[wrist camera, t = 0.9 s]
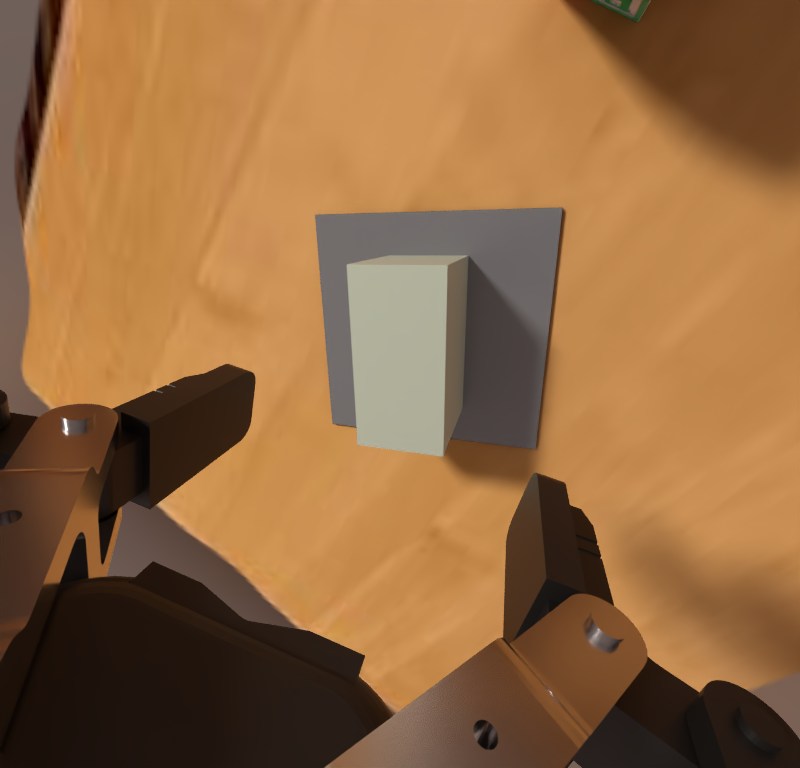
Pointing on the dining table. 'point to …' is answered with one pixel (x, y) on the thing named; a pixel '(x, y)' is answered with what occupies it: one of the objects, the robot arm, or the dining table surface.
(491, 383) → the gray tile
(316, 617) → the dining table surface
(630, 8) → the stack of blocks
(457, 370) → the sage block
